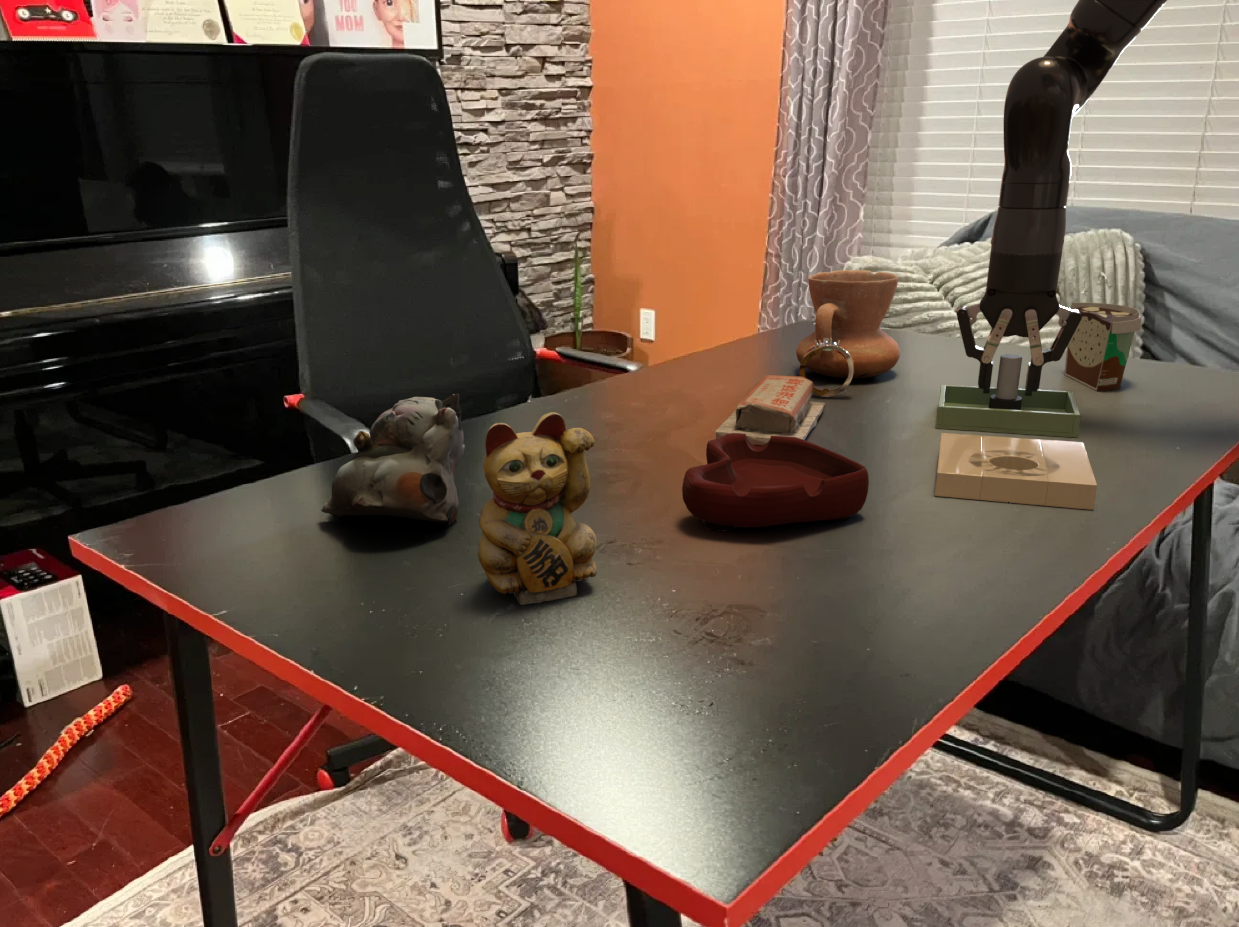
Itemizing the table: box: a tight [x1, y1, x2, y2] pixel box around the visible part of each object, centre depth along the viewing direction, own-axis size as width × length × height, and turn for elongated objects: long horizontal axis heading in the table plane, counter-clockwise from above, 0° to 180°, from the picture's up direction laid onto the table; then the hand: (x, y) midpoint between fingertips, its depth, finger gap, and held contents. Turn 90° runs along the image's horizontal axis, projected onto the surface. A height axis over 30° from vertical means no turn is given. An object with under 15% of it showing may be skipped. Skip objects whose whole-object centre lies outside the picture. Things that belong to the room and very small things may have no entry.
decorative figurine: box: [477, 411, 598, 605], centre depth 81 cm, size 10×8×15 cm
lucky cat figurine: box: [319, 393, 466, 526], centre depth 98 cm, size 15×12×14 cm
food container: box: [1063, 301, 1142, 392], centre depth 137 cm, size 12×6×10 cm, turn 179°
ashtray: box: [681, 433, 870, 532], centre depth 97 cm, size 18×16×5 cm
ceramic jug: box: [795, 269, 901, 379], centre depth 145 cm, size 18×14×14 cm
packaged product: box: [715, 374, 827, 446], centre depth 123 cm, size 18×5×10 cm
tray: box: [935, 384, 1082, 438], centre depth 123 cm, size 15×11×3 cm
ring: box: [799, 337, 855, 398], centre depth 135 cm, size 7×3×8 cm, turn 66°
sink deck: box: [934, 432, 1098, 511], centre depth 103 cm, size 14×14×2 cm
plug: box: [989, 353, 1023, 410], centre depth 122 cm, size 4×4×7 cm
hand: (1007, 392), depth 122 cm, fingers open, 4 cm apart
